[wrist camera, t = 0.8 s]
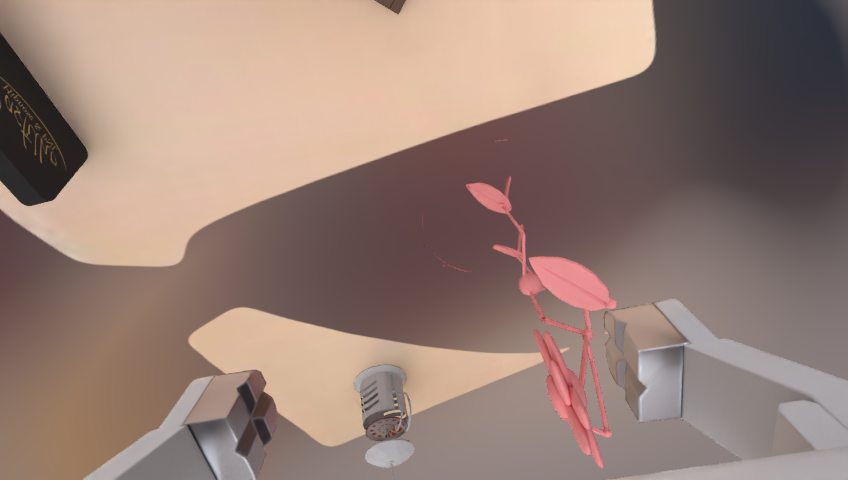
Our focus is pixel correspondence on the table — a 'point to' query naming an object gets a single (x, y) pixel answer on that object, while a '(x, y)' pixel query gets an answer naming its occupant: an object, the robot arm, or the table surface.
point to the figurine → (576, 290)
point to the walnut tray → (392, 4)
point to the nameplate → (33, 136)
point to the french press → (378, 399)
